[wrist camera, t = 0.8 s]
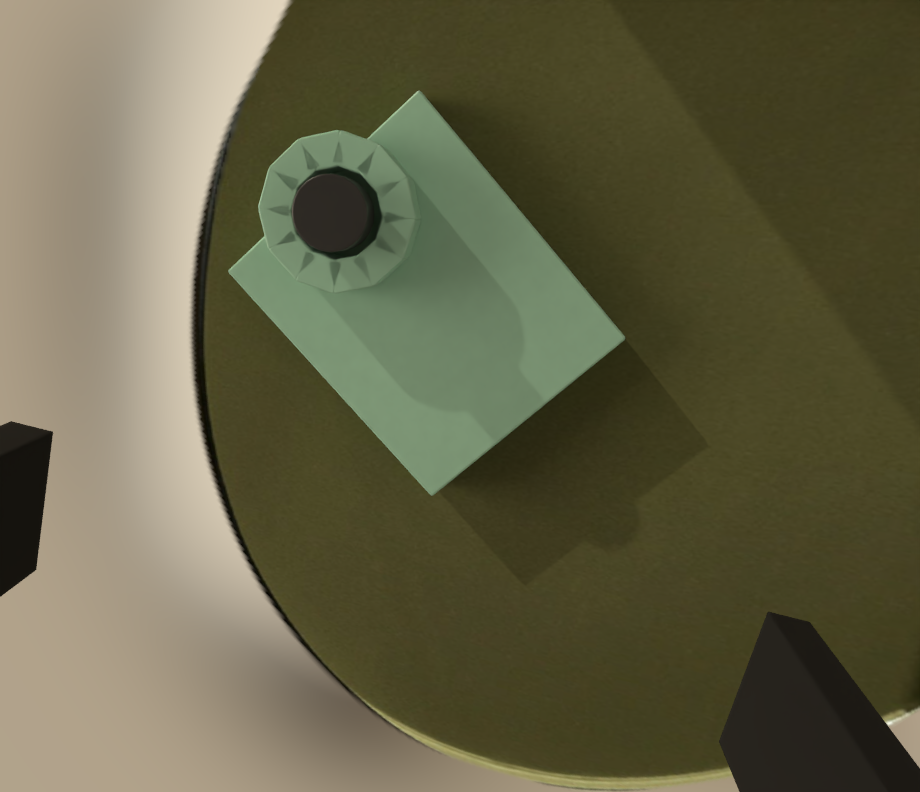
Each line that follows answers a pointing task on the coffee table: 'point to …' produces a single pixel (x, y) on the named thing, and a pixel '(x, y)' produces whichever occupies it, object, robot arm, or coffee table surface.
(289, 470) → the coffee table surface
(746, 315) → the coffee table surface
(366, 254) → the scale
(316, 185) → the tare button
